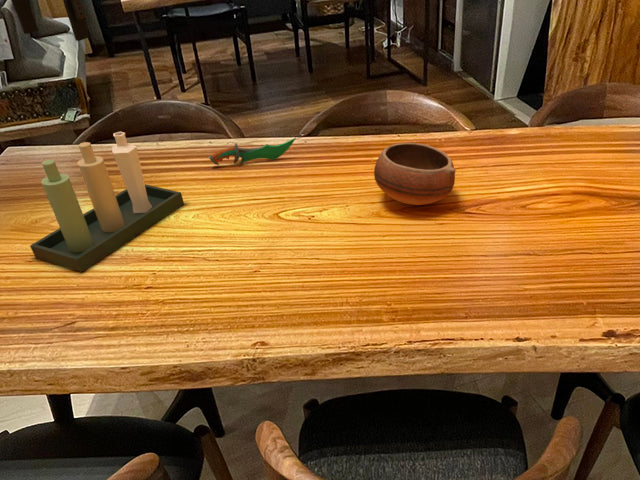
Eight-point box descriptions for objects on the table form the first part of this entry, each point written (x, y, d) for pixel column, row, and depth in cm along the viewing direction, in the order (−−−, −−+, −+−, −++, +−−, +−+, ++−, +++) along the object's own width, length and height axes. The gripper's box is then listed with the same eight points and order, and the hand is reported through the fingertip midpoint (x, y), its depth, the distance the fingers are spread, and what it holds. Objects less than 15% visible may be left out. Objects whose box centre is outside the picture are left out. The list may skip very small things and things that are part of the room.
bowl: (462, 214, 120) (465, 164, 113) (381, 222, 118) (380, 172, 112) (443, 179, 131) (445, 131, 125) (369, 186, 130) (368, 139, 123)
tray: (35, 258, 112) (29, 245, 111) (140, 194, 130) (137, 182, 129) (81, 272, 108) (76, 259, 107) (184, 204, 126) (181, 192, 125)
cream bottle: (96, 229, 118) (65, 147, 108) (112, 219, 121) (84, 137, 110) (113, 234, 117) (84, 151, 106) (129, 223, 120) (103, 141, 109)
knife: (211, 169, 138) (206, 147, 135) (210, 166, 140) (205, 144, 136) (299, 158, 142) (296, 136, 138) (298, 154, 143) (295, 133, 140)
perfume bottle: (155, 211, 123) (133, 136, 113) (132, 215, 122) (107, 140, 112) (153, 201, 126) (131, 127, 116) (130, 205, 125) (107, 131, 115)
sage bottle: (63, 249, 113) (28, 165, 102) (82, 238, 116) (49, 154, 105) (81, 255, 112) (47, 169, 101) (99, 243, 114) (67, 159, 104)
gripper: (80, -109, 101) (120, 36, 115) (-23, -110, 109) (26, 24, 124) (43, -104, 96) (90, 47, 110) (-61, -106, 104) (-6, 34, 119)
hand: (56, 35), depth 117 cm, fingers open, 13 cm apart
